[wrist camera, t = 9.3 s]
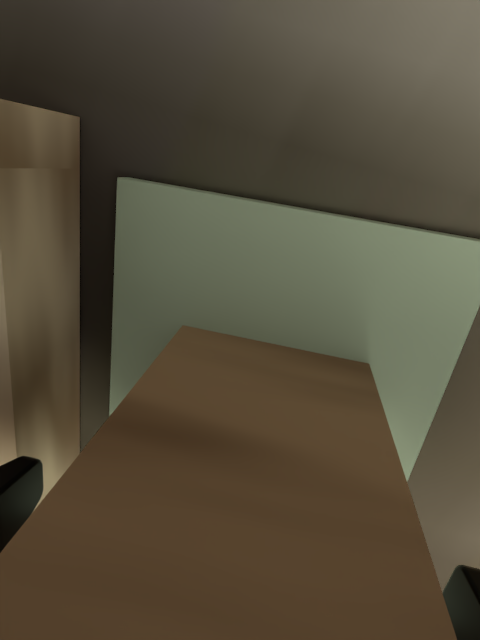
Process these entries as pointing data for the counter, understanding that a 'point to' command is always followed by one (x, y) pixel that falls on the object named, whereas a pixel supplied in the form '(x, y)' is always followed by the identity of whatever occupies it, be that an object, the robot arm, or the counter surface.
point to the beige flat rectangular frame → (39, 287)
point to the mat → (293, 291)
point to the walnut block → (230, 511)
